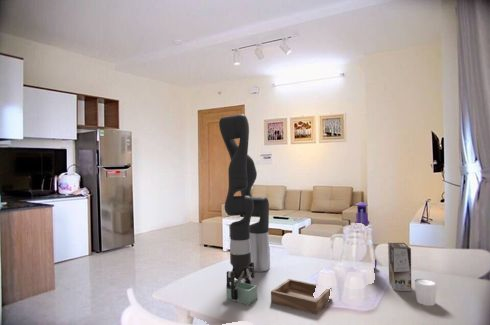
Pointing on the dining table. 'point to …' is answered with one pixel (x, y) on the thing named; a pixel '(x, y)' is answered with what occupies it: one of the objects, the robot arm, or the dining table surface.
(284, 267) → the dining table surface
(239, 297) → the sage crate
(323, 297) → the walnut crate
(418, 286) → the white cup
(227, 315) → the dining table surface
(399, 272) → the coffee box
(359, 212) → the lantern
